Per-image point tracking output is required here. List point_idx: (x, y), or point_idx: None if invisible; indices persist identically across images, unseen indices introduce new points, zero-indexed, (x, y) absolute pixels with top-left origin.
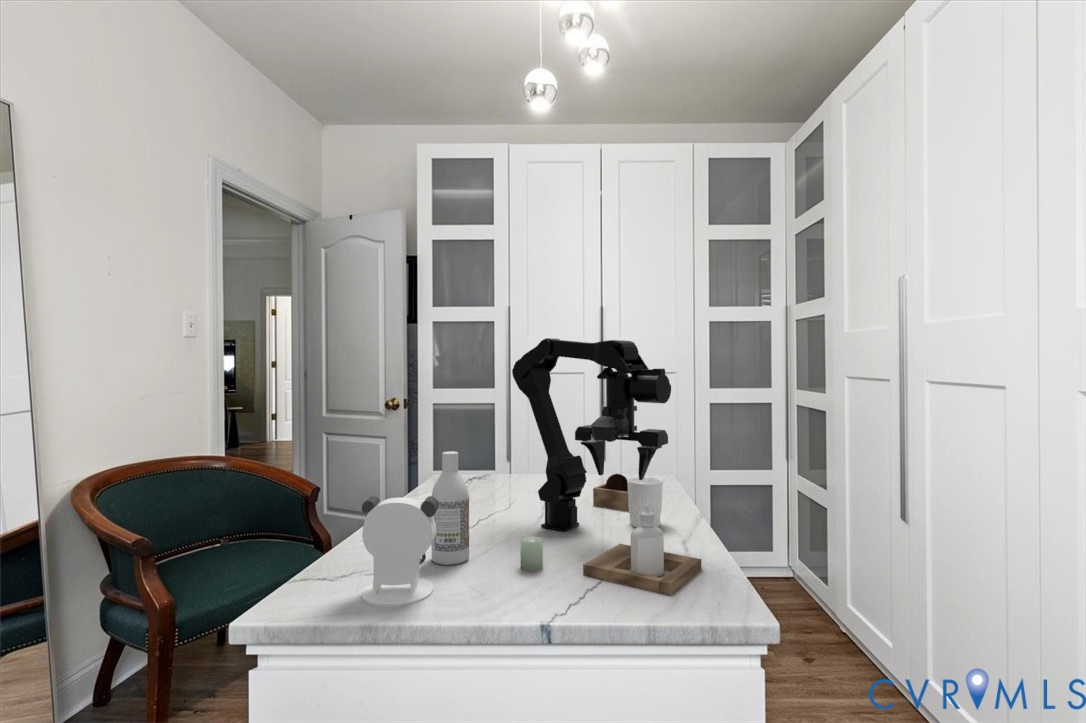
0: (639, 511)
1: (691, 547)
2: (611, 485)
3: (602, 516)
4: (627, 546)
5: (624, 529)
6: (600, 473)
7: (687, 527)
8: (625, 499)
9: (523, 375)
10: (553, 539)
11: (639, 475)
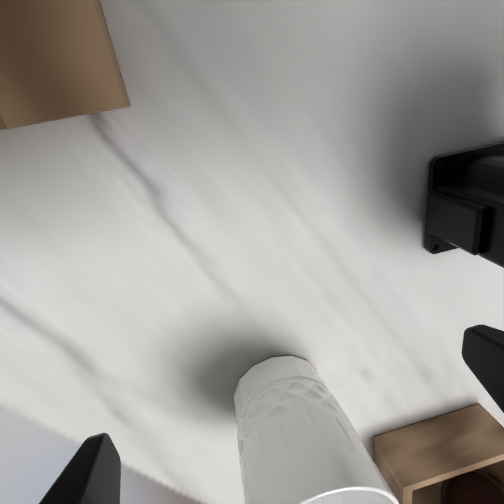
0: (279, 395)
1: (19, 336)
2: (490, 497)
3: (413, 359)
4: (73, 94)
5: (294, 319)
6: (477, 338)
7: (174, 450)
8: (407, 461)
9: None
10: (419, 57)
11: (83, 469)
